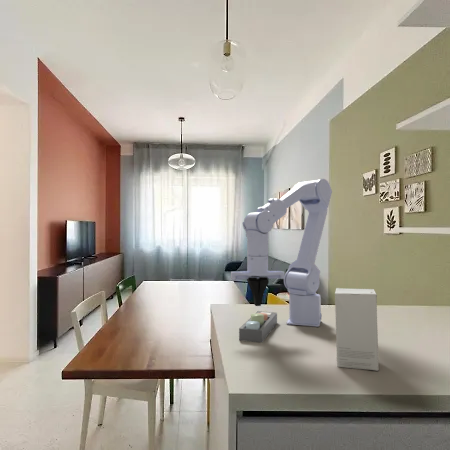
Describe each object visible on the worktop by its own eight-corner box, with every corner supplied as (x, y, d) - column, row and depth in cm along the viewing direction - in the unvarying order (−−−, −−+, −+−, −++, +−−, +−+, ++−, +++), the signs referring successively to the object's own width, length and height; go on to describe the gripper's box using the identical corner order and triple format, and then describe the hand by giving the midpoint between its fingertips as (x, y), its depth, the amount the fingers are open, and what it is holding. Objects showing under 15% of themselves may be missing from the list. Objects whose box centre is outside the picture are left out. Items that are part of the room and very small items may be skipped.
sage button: (265, 324, 98) (265, 314, 98) (262, 328, 95) (262, 317, 95) (252, 323, 99) (252, 313, 99) (249, 327, 96) (249, 316, 96)
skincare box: (376, 361, 77) (376, 288, 77) (379, 372, 71) (378, 294, 71) (336, 356, 80) (335, 286, 80) (335, 367, 73) (334, 291, 74)
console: (277, 322, 108) (277, 312, 108) (262, 342, 89) (262, 330, 89) (257, 320, 110) (257, 310, 110) (239, 340, 91) (239, 328, 91)
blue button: (261, 333, 94) (261, 321, 94) (257, 337, 90) (257, 325, 90) (248, 332, 95) (248, 320, 95) (244, 335, 92) (244, 324, 92)
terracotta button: (268, 323, 103) (268, 313, 103) (266, 327, 100) (266, 316, 100) (256, 322, 104) (256, 312, 104) (253, 326, 101) (253, 315, 101)
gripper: (279, 254, 103) (279, 301, 103) (229, 254, 101) (229, 302, 101) (286, 256, 96) (286, 307, 96) (232, 256, 94) (232, 308, 94)
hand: (257, 305), depth 98 cm, fingers closed
